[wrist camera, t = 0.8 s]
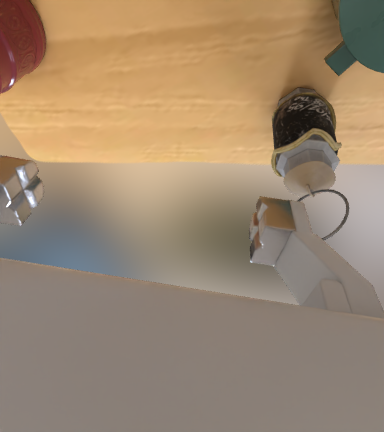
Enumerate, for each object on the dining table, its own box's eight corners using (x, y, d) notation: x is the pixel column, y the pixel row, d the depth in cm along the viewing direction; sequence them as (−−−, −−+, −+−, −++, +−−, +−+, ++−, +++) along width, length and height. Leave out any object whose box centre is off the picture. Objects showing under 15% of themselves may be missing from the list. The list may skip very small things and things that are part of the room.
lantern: (314, 69, 38) (349, 201, 22) (339, 113, 42) (384, 251, 26) (259, 106, 43) (256, 234, 28) (286, 142, 47) (296, 272, 32)
